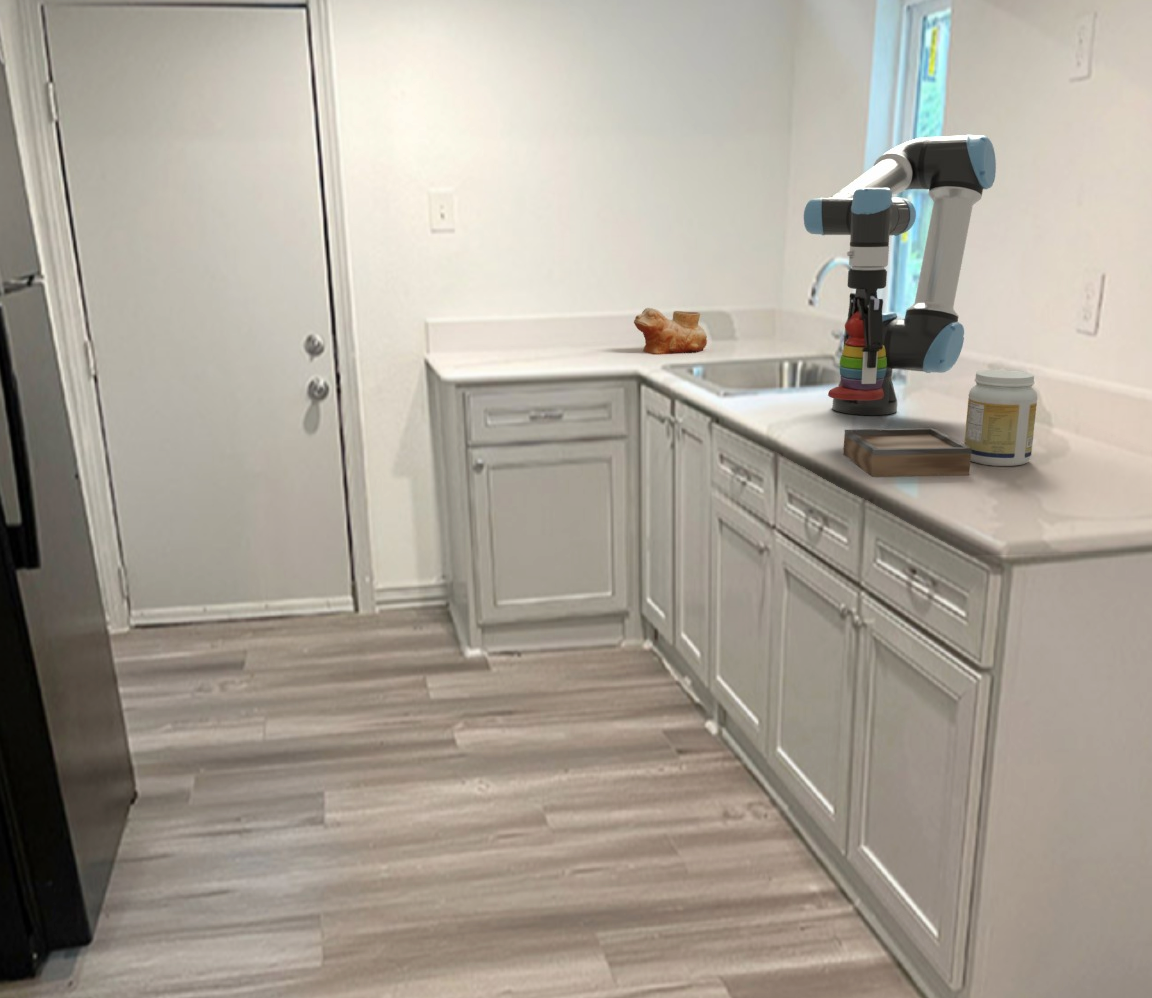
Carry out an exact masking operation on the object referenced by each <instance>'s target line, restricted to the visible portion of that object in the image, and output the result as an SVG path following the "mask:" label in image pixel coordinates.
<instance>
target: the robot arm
mask: <svg viewBox="0 0 1152 998" xmlns="http://www.w3.org/2000/svg"><path fill="white" fill-rule="evenodd" d="M994 148H995V147H994V144H993V143H992V141H991V139H990V138H989V137H988V136H986V135H980V134H979V135H977V134H976V135H975V134H974V135H973V134H966V135H951V136H950V135H949V136H947V135H946V136H927V137H926V136H925V137H918V138H915V139H912V140H909V141H906V142H904V143H901V144H899V145H897V146H895V147H894V148H891V149H890V150H888V151H886V152H884V154H882V155H880V156H879V157H878V158H877V159H876V160H875V162H874V164H873V166H872V167H871V168H870V169H867V170H866V171H865V172H864V173H862V174H861V175H860V176H858V177H857V178H855V179H854V180H852V181H851V182H850V183H848V184H847V185H846V186H844V187H843V188H841V189H840V190H838V191H837V192H835V193H834V194H832V195H831V196H830V197H820V198H819V197H818V198H817V197H816V198H812V199H810V200H809V201H807V203H806V205H805V207H804V211H803V225H804V228H805V230H806V232H807V233H809V234H811V235H821V236H850V238H849V240H850V242H849V251H847V252H846V256H847V257H848V259H849V260H848V266H849V267H851V268H850V269H848V271H847V287H848V288H849V289H853V290H855V293H854V292H853V293H852V292H851V293H850V294H849V304H848V305H849V306H848V311H847V312H848V313H847V319H846V321H845V323H846V322H847V321H848V320H849V319H850V318H851V317H852V316H853V314H855V313H856V312H858V311H859V313H860V319H861V320H862V321H863V329H864V339H865V348H863V349H862V352H863V367H862V384H876V374H877V358H878V351H879V350H882V348H883V345H884V347H885V352H886V359H887V366H886V368H887V369H886V374H885V377H884V381H883V384H882V386H881V387H882V389H883V393H884V397H883V398H881V399H878V400H868V401H860V400H844V399H835V398H832V405H831V406H832V407H831V409H832V410H834V411H836V412H839V413H843V414H848V415H849V414H850V415H857V416H858V415H859V416H882V415H883V416H885V415H891V414H894V413H897V411H898V399H897V395H896V390H895V388H894V387H895V386H894V382H893V370H900V371H901V370H903V371H912V372H914V371H915V372H924V373H926V374H931V373H934V374H935V373H937V374H939V373H940V374H941V373H942V374H943V373H946V372H948V371H950V370H951V369H952V368H953V367H954V366H955V364H956V362H957V361H958V360H959V357H960V355H961V353H962V349H963V345H964V341H965V337H964V335H965V328H964V325H963V324H962V323H961V322H959V315H958V313H957V312H956V311H955V309H954V306H955V299H956V296H957V291H958V284H959V280H960V275H961V270H962V264H963V259H964V252H965V249H966V248H965V247H966V242H967V237H968V233H969V226H970V223H971V216H972V211H973V206H974V205H975V204H977V203H978V202H979V201H981V200H982V196H983V192H984V190H989V189H990V188H992V187H993V185H994V183H995V179H996V173H997V172H996V169H997V162H996V161H997V160H996V152H995V149H994ZM907 190H908V191H909V190H928V196H929V197H930V198H931V201H933V204H932V208H931V209H932V210H931V213H930V214H931V215H930V220H929V225H928V230H927V237H926V241H925V246H924V251H923V256H922V257H923V258H922V262H921V267H920V273H919V277H918V284H917V287H916V288H917V290H916V293H915V298H914V303H913V304H912V305H911V306H910V307H908V308H907V309H906V311H905V316H904V318H902V319H901V318H898V314H897V312H895V311H887V312H886V311H885V312H883V306H884V300H883V298H878V290H881V289H885V288H886V286H887V276H888V271H887V269H885V268H886V267H887V266H888V265H889V251H890V250H889V249H890V246H889V245H890V237H891V236H895V237H897V236H899V235H903V234H905V233H906V232H908V231H909V230H910V229H912V227H913V226H914V225H915V222H916V218H917V212H916V208H915V205H914V204H913V202H911V201H910V200H909V199H907V198H905V197H901V196H893V195H899V194H900V193H902V192H904V191H907ZM864 313H865V314H864ZM849 338H850V336H849V335H848V333H847V331H846V329H845V328H844V333H843V347H842V349H843V348H844V346H845V345H846V343H845V342H846V341H847V340H848V339H849ZM873 343H874V344H873ZM838 386H842V383H841V379H840V380H839V383H838ZM838 386H837V387H838Z"/></svg>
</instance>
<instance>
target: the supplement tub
mask: <svg viewBox="0 0 1152 998" xmlns="http://www.w3.org/2000/svg"><path fill="white" fill-rule="evenodd" d="M974 382H975V385H974V386H972V387H971V388H970V390H969V392H968V402H967V410H966V411H967V412H966V420H965V432H964V434H965V435H964V443H963V444H964V445H966V446H968V447H970V448H972V450H971V460H970V462H972V463H976V464H979V465H985V466H992V467H993V466H994V467H1012V466H1013V467H1014V466H1016V467H1017V466H1022V465H1024V464H1027V463H1028V462H1029V461H1030V460H1031V457H1032V451H1033V442H1034V441H1033V440H1034V430H1035V423H1036V415H1037V404H1038V393H1037V391H1036V389H1034V387H1033V385H1034V384H1035V374H1034V373H1031V372H1028V371H1021V370H1010V369H984V370H983V369H982V370H979V371H976V373H975V378H974Z"/></svg>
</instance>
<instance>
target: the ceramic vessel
mask: <svg viewBox="0 0 1152 998" xmlns="http://www.w3.org/2000/svg"><path fill="white" fill-rule="evenodd" d="M700 316H701V313H700V312H697V311H682V310H674V311H673V314H672V319H669V318H667V317H665V315H664V314H663V313H662V312H661V311H660V310H658V309H655V308H653V307H646V308H644V309H643V311H642V313H641V314H637V315H636V316H635V318H634V320H633V324H634V326H635V327H636V328H637V330H638V331H640V332H641V333H642V335H643V337H644V339H645V340H644V341H645V342H644V343H645V345H644V347H643V352H645V353H647V354H651V355H654V356H655V355H658V356H659V355H660V356H661V355H675V354H678V355H679V354H696V353H699V352H703V351H704V348H706V346H707V343H708V340H707V333H706V331H705V330H704V329H703V327H702V326H700V325H699V321H700Z"/></svg>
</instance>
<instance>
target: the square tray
mask: <svg viewBox="0 0 1152 998" xmlns="http://www.w3.org/2000/svg"><path fill="white" fill-rule="evenodd" d="M843 436H844V437H843V448H842V450H843V453H842V454H843V456H845V457H846V458H847V459H848V460H850V461H851V462H852V463H854V464H855V465H857V466H858V467H860V469H862V470H863V471H864V472H866V473H867V474H868V475H870V476H871V477H877V478H879V477H917V476H918V477H923V476H924V477H925V476H926V477H927V476H928V477H929V476H932V477H934V476H938V477H939V476H969V475H970V468H971V461H970V460H971V450H972V448H970V447H968V446H966V445H964V443H962V442H961V441H959V440H957V439H955V438H953V437H951V436H950V435H947V434H946V433H944V432H942V431H940V430H938V429H936V428H932V427H931V428H929V427H928V428H927V427H925V428H924V427H923V428H921V427H920V428H873V429H872V428H871V429H870V428H869V429H867V428H866V429H865V428H862V429H859V428H858V429H856V428H855V429H844V435H843Z"/></svg>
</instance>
